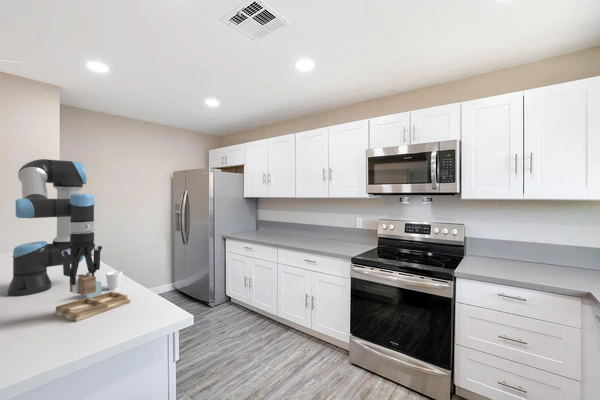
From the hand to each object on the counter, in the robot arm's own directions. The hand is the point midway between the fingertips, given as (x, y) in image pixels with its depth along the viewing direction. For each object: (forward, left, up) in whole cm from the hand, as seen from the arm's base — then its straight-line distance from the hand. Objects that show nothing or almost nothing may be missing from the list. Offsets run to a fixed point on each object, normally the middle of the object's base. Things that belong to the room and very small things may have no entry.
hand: (82, 290), depth 107 cm
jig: (0, +5, -9) cm, 10 cm away
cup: (-19, +23, -9) cm, 31 cm away
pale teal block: (-17, +12, -9) cm, 22 cm away
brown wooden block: (0, 0, -1) cm, 1 cm away
